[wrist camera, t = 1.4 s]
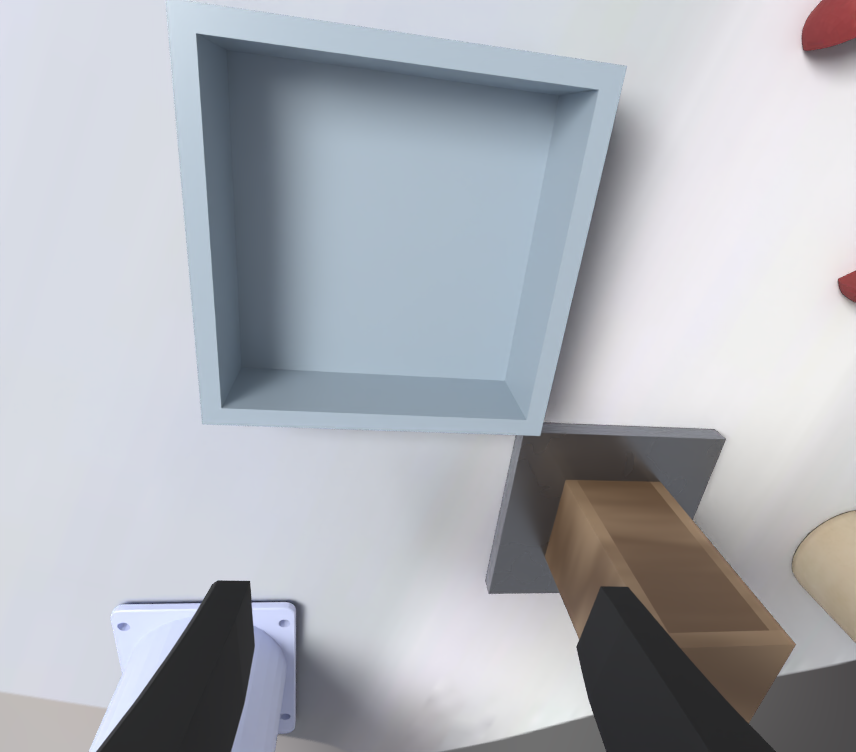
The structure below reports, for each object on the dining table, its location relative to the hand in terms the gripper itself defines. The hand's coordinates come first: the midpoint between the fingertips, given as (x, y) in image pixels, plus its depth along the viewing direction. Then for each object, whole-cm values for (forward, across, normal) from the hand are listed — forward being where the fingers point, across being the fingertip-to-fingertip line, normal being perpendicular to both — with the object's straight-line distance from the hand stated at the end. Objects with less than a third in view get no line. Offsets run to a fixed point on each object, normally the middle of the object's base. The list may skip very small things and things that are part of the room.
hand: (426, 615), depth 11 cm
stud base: (+10, -9, +7) cm, 16 cm away
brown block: (+10, -9, +7) cm, 15 cm away
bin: (+11, +1, -5) cm, 12 cm away
